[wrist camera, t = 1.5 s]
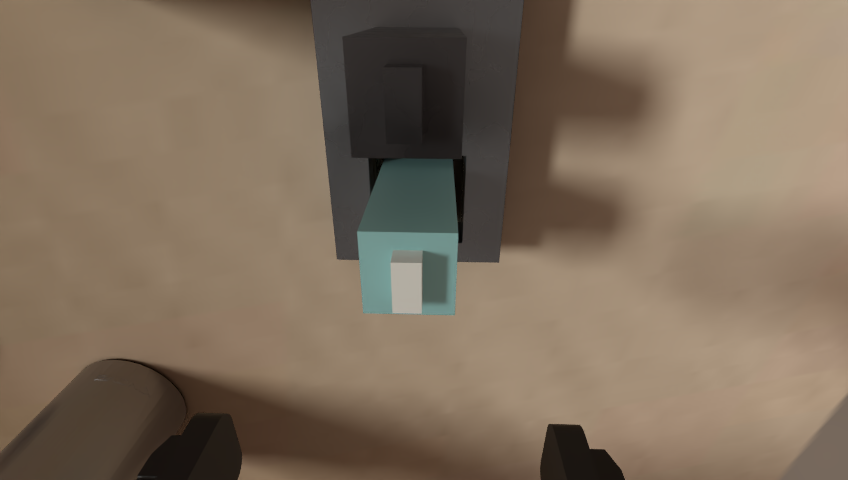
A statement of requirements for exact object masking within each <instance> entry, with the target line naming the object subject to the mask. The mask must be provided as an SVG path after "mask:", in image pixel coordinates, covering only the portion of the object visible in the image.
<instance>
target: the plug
mask: <svg viewBox="0 0 848 480" xmlns="http://www.w3.org/2000/svg"><path fill="white" fill-rule="evenodd" d="M357 237H358V250H359V263H360V276H361V289H362V302H363V313H379V314H423V315H455V298H456V275H457V252H458V223H457V210H456V197H455V183H454V170H453V159H406V158H384V161H383V164H382V166H381V169H380V172H379V174H378V177H377V180H376V182H375V185H374V188H373V190H372V193H371V196H370V198H369V201H368V204H367V206H366V209H365V212H364V214H363V217H362V220H361V222H360V225H359V228H358V230H357Z"/></svg>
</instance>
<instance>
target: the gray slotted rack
mask: <svg viewBox="0 0 848 480" xmlns="http://www.w3.org/2000/svg"><path fill="white" fill-rule="evenodd" d="M310 1H311V11H312V20H313V30H314V40H315V49H316V59H317V69H318V78H319V88H320V98H321V108H322V117H323V127H324V137H325V146H326V156H327V166H328V175H329V185H330V195H331V205H332V214H333V224H334V234H335V243H336V253H337V259H341V260H359V250H358V237H357V230H358V228H359V225H360V222H361V220H362V217H363V214H364V212H365V209H366V206H367V204H368V201H369V198H370V196H371V193H372V190H373V188H374V185H375V182H376V180H377V168H376V158H406V159H462V156H463V175H462V197H461V219H460V222H457V223H458V252H457V262H498V263H499V257H500V246H501V236H502V225H503V214H504V204H505V193H506V183H507V172H508V162H509V151H510V140H511V130H512V119H513V109H514V98H515V88H516V77H517V66H518V56H519V45H520V35H521V24H522V13H523V3H524V0H310Z"/></svg>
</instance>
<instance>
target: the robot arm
mask: <svg viewBox="0 0 848 480" xmlns="http://www.w3.org/2000/svg"><path fill="white" fill-rule="evenodd" d="M185 416H186V405H185V402H184V399H183V397H182V396H181V394H180V392H179V391H178V390H177V388H176V387H175V386H174V385H173V384H172V383H171V382H170V381H169V380H167V379H166V378H165V377H163V376H162V375H161V374H159V373H157V372H155V371H154V370H152V369H150V368H147V367H145V366H142V365H140V364H136V363H133V362H129V361H122V360H103V361H99V362H95V363H93V364H91V365H89V366H87V367H85V368H84V369H83V370H82V371H81V372H80V373H79V374H78V375H77V376H76V377H75V378H74V379H73V380H72V381H71V382H70V383H69V384H68V385H67V386H66V387H65V388H64V389H63V390H62V391H61V392H60V393H59V394H58V395H57V396H56V397H55V398H54V399H53V400H52V401H51V402H50V403H49V404H48V405H47V406H46V407H45V408H44V409H43V410H42V411H41V412H40V413H39V414H38V415H37V416H36V417H35V418H34V419H33V420H32V421H31V422H30V423H29V424H28V425H27V426H26V427H25V428H24V429H23V430H22V431H21V432H20V433H19V434H18V435H17V436H16V437H15V438H14V439H13V440H12V441H11V442H10V443H9V444H8V445H7V446H6V447H5V448H4V449H3V450H2V451H1V452H0V480H237V479H238V477H239V474H240V470H241V464H242V452H241V448H240V445H239V441H238V438H237V435H236V431H235V428H234V424H233V421H232V418H231V416H230V415H229V414H224V413H197V414H196V415H194V416H193V418H192V419H191V420H190V422H189V424H188V425H187V427H186V429H185V430H184V432H183V434H182V435H176V433H177V432H178V430H179V428H180V427H181V425H182V423H183V422H184V419H185ZM540 475H541V480H625V478H624V476H623V473H622V471H621V469H620V468H619V467H618V465H617V464H616V463H615V462H614V460H613V459H612V458H611V457H610V456H609V454H608V453H607V452H606V451H605V450H603V449H589V446H588V443H587V440H586V437H585V434H584V431H583V429H582V427H581V426H580V425H567V424H549V425H548V427H547V432H546V437H545V443H544V448H543V453H542V458H541V466H540Z"/></svg>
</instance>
